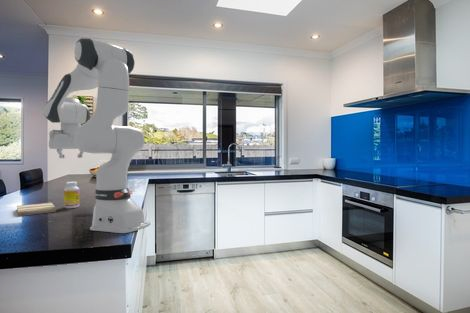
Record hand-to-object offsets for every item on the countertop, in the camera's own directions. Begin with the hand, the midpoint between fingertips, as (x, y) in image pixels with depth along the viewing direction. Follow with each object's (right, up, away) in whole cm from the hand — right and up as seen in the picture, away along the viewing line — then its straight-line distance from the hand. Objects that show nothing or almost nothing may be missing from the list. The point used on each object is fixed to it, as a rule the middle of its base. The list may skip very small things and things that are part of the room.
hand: (71, 158), depth 140 cm
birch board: (-12, -25, -8) cm, 29 cm away
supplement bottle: (0, -25, +1) cm, 25 cm away
